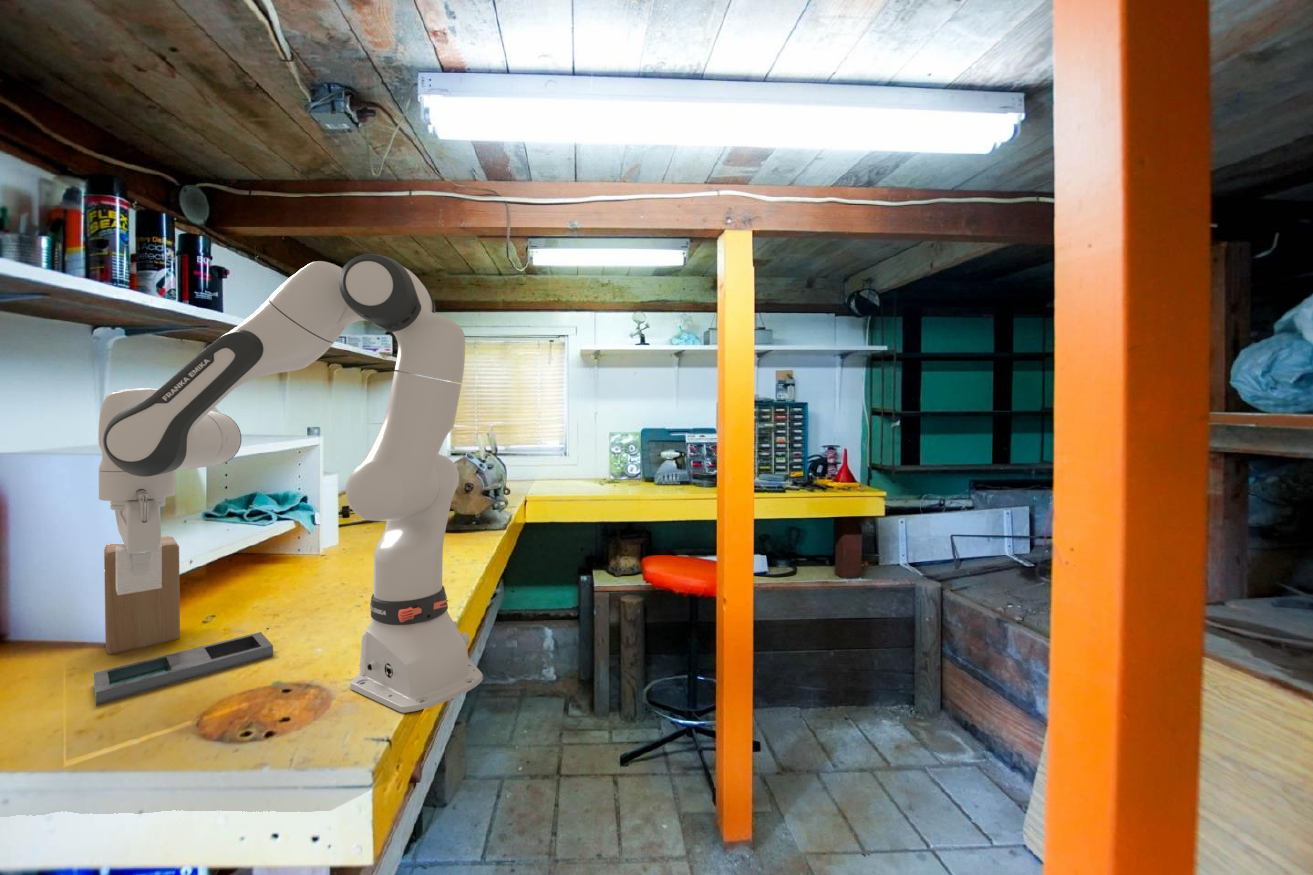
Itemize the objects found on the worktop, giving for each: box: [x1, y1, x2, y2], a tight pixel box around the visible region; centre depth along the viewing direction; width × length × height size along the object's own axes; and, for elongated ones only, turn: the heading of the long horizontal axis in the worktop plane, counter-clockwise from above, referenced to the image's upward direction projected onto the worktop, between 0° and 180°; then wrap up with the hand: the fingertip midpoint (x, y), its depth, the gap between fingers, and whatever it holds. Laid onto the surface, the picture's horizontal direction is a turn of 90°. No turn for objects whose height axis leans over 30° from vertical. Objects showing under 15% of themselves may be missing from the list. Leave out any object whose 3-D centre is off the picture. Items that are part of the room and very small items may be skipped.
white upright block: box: [116, 545, 162, 595], centre depth 83 cm, size 5×5×7 cm
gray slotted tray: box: [93, 631, 274, 706], centre depth 88 cm, size 9×22×3 cm, turn 140°
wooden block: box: [103, 535, 181, 655], centre depth 99 cm, size 10×10×20 cm
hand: (138, 570), depth 83 cm, fingers closed on white upright block, 5 cm apart
